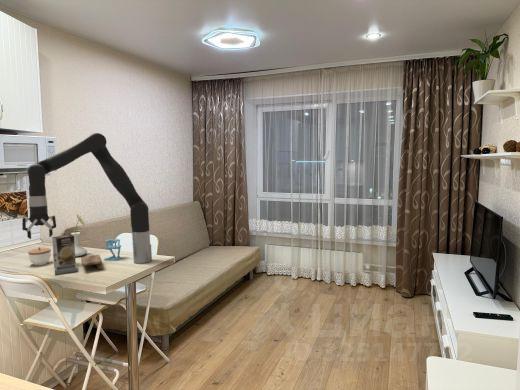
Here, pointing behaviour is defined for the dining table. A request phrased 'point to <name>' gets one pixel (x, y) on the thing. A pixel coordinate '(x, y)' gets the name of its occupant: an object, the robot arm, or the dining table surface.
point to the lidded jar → (40, 256)
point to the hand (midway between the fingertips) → (40, 237)
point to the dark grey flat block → (65, 269)
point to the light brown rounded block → (92, 261)
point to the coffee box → (63, 250)
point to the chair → (113, 248)
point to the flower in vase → (78, 248)
